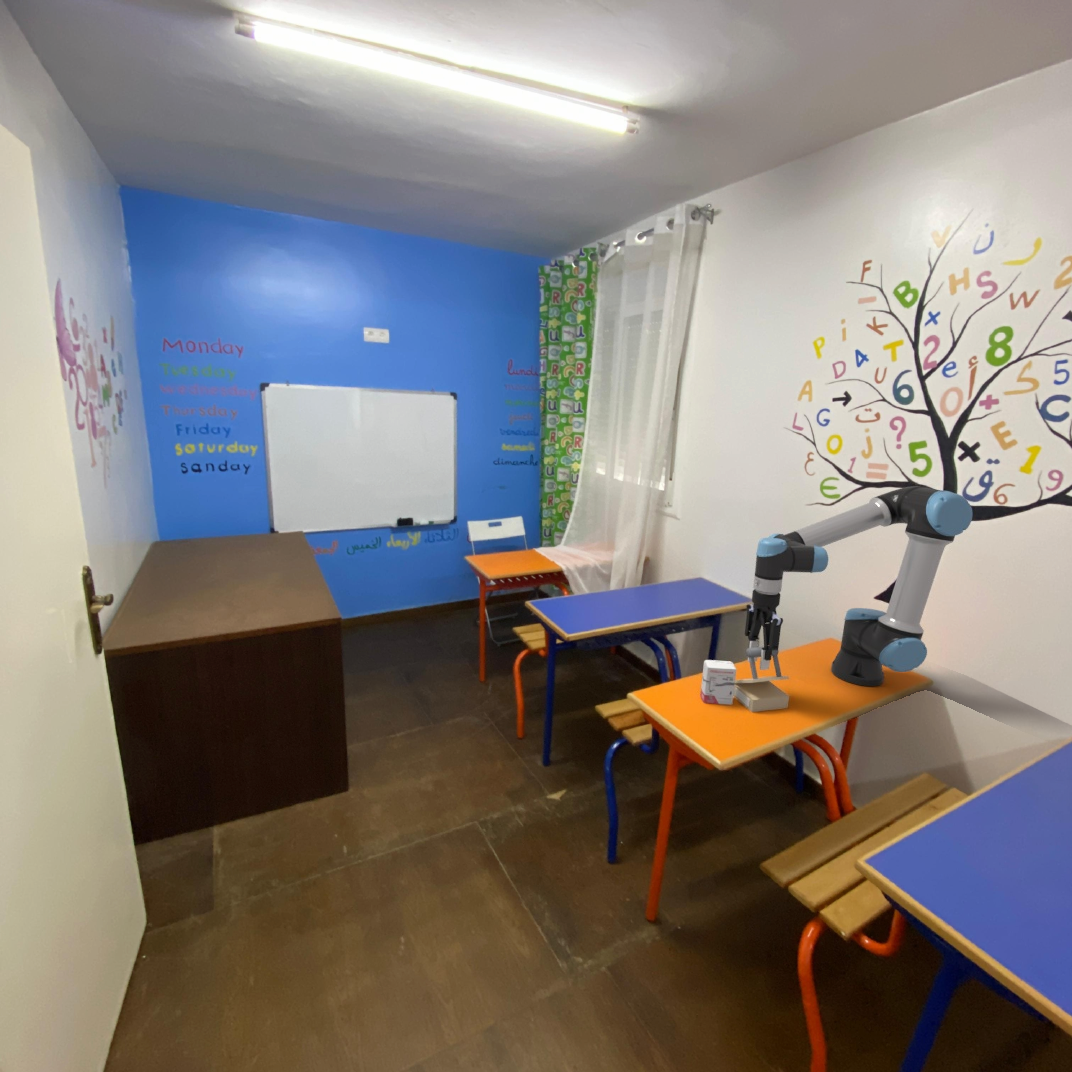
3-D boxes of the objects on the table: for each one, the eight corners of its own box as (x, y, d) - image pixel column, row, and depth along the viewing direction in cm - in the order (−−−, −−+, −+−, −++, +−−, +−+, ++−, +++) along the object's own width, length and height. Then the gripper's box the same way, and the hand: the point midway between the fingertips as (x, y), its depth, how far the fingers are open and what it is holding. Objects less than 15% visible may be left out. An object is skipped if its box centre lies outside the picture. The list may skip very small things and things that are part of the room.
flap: (767, 679, 166) (761, 647, 168) (788, 678, 156) (781, 644, 159) (733, 683, 163) (727, 650, 166) (753, 682, 154) (746, 648, 156)
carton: (765, 690, 167) (767, 679, 166) (787, 707, 158) (789, 695, 157) (731, 694, 164) (732, 683, 163) (751, 712, 155) (752, 700, 154)
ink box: (703, 703, 159) (706, 666, 156) (699, 695, 164) (703, 659, 161) (732, 705, 158) (737, 668, 156) (728, 696, 163) (732, 661, 160)
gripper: (736, 582, 163) (729, 653, 168) (776, 601, 146) (767, 679, 151) (758, 581, 165) (750, 651, 170) (799, 599, 148) (789, 677, 153)
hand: (758, 664), depth 161 cm, fingers open, 5 cm apart
